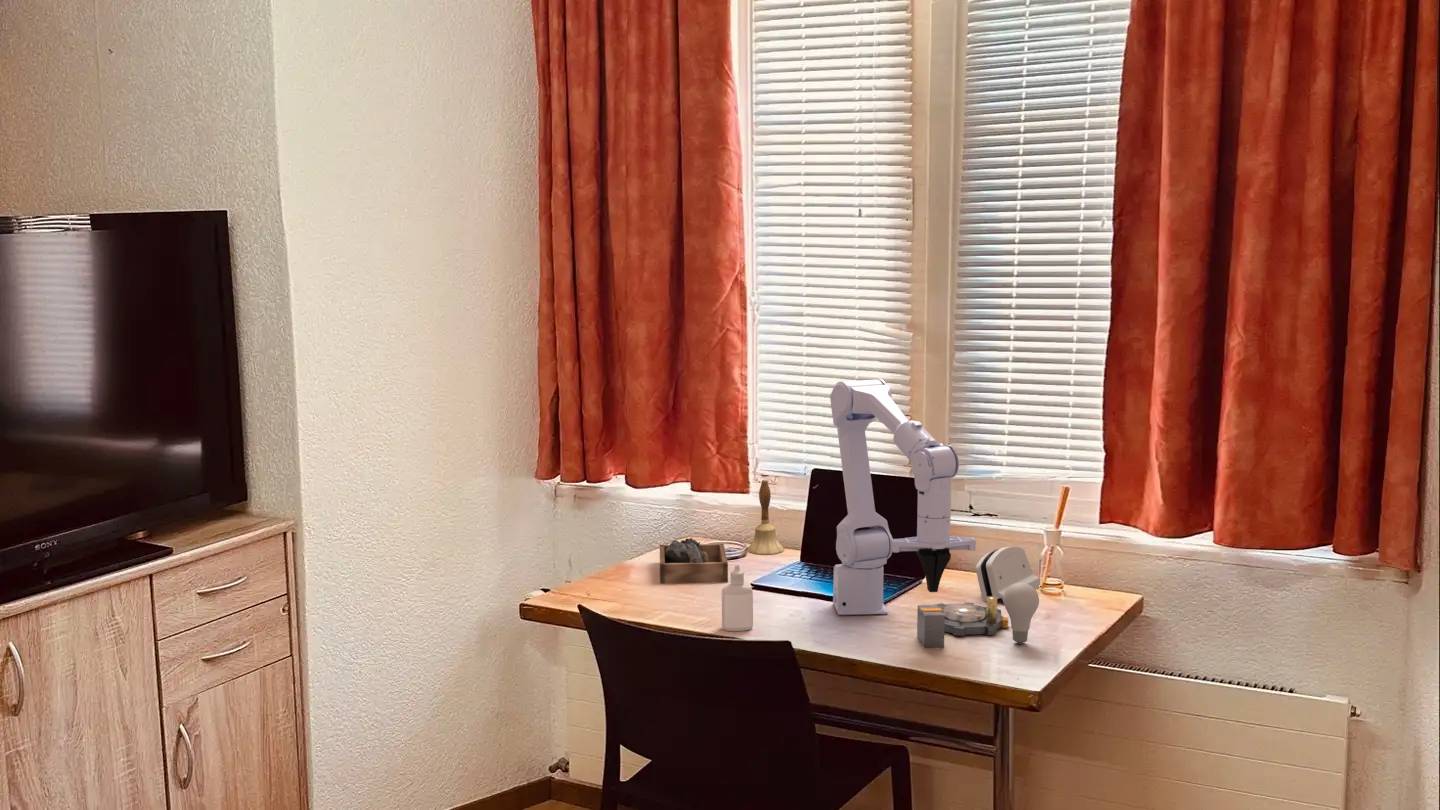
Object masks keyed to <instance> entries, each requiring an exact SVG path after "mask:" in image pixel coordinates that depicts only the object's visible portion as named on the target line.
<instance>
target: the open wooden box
mask: <svg viewBox="0 0 1440 810" xmlns="http://www.w3.org/2000/svg"><path fill="white" fill-rule="evenodd" d="M669 545H670V544H659V583H660V584H693V583H694V584H696V583H697V584H699V583H700V584H701V583H704V584H705V583H707V584H709V583H729V563H728V557H727V553H726V548H725V544H724V543H700V544H699V547H700V551H701V552H702V551H705V552H706V553H707V557H708V561H709V562H704V563H665V555H664V553H665V552H666V550H667V548H668V546H669Z"/></svg>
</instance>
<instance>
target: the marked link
mask: <svg viewBox="0 0 1440 810" xmlns="http://www.w3.org/2000/svg"><path fill="white" fill-rule="evenodd" d="M916 620H917V623H916V626H917V627H916V630H917V631H916V638H917V639H918V641H919V643H920V644H921V646H922V647H924V648H923V649H924V650H925V649H945V631H944V628H945V615H944V613H943V612H942V610H941V608H939V607H938V605H934V604H917V618H916Z"/></svg>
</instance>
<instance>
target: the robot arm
mask: <svg viewBox="0 0 1440 810" xmlns="http://www.w3.org/2000/svg"><path fill="white" fill-rule="evenodd" d="M829 397H830V398H829V401H830V407H831V408H830V409H831V414H832V422H833V425H834V426H835V427H836V428H837V438H838V445H839V446H838V447H839V453H840V461H841V469H842V478H843V483H844V484H843V485H844V493H845V501H846V509H847V515H846V516H845V517H844V518H843V519H842V520H841V521H840V522H839V523H838V524H837V526H836V540H835V550H836V555H837V557H838V559H839V561H841V563H839V564H835V565H834V566H833V586H832V587H833V595H832V604H833V606H834V608H835V611H836V613H837V615H839V616H851V615H887V614H888V613H889V611H888V608H887V607H886V606H885V604H884V565H886V564H887V562H888V559H889V558H890V557H892V554H893V553H900V552H916V555H917V557H918V559H919V562H920V565H921V567H922V569H923V572H924V576H925V580H926V589H927V590H928V592H929V593H938V592H939V586H940V582H941V579H942V576H943V573H944V572H945V570H946V567H947V566H948V564H949V563H950V560H951V558H952V557H951V556H952V554H951V552H950V551H970V552H972V551H973V552H974V551H976V550H977V549H976V546H977V545H976V543H977V542H976V539H975V538H974V537H972V536H970V537H965V536H964V537H963V536H951V516H952V515H951V513H952V512H951V511H952V509H951V507H952V479H953V478H954V477H956V476H957V474H958V472H959V467H960V460H959V456H958V453H957V451H956V450H955V449H954V447H953V446H952V445H950V444H943V443H941V442H938V441H937V440H936V439H935V438H934V437H933V436H932V435H931V434H930V433H929V431H927V430H926V429H925V427H924V426H923V424H922V423H921V422H920V421H919V420H917V421H916V420H909V419H908V418H907V417H906V416H905V414H904V413H903V411H901V408H899V406H898V405H897V404H896V402H895V401H894V400H893V399H892V397H893V396H892V389H891V387H890V386H889V385H888V384H887V382H886V381H885V380H884V379H883V378H875V379H866V380H853V381H841V380H840V381H837V382H836V383H835V384H834V387H833V389H832V391H831V392H830V395H829ZM876 420H878V421H879V422H881V423H882V424H883V425H884V426H885V427H886V428H887V429H888V430H889V431H890V432H891V433H892V434H893V439H892V440H893V444H895V446H896V447H897V449H899V451H901V452H902V453H903V455H904V456H905V457H906V458H907V459H908V460H909V461H910V467H911V471H912V475H913V477H914V486H915V489H916V490H917V511H916V513H917V518H916V519H917V521H916V523H917V526H916V536H912V537H911V536H910V537H904V538H893V536H892V534H891V532H890V528H889V524H888V520H887V519H886V518H884V517H883V516H882V515H880V514H879V513H878V512H876V507H875V499H874V491H873V483H872V476H871V468H870V467H871V466H870V460H869V458H870V457H869V452H868V445H867V435H866V430H867V428H868V426H869V425H870V424H871V423H873V422H875V421H876ZM860 528H868V529H860ZM857 529H860V530H857Z"/></svg>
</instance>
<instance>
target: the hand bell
mask: <svg viewBox="0 0 1440 810" xmlns="http://www.w3.org/2000/svg"><path fill="white" fill-rule="evenodd" d="M771 495H772V494H771V489H770V486H769V483H768V480H762V481H761V484H760V488H759V491H758V496H759V498H758V499H759V504H760V506H761V507H760V508H761V523H760V524H758V525H757V526H755V529H754V530H755V531H754V537H753V540H752V542H751V544H750V545H749V546H748V547H747V549H746V550H747V552H749V553H750V554H753V555H761V556H763V555H764V556H765V555H766V556H768V555H778V554H780V553H782V552H784V551H785V549H784V547H783V545H782V544H781V543H780V542H779V540H778V538H777V537H778V536H777V534H776V527H775V526H774V525H772V524H770V517H769V516H770V515H769V507H770V503H771Z"/></svg>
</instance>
